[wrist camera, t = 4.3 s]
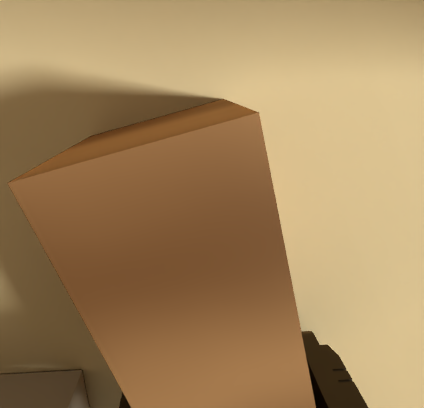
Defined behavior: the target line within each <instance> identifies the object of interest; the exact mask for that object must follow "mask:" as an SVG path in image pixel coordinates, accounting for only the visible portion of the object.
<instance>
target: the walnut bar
mask: <svg viewBox="0 0 424 408" xmlns="http://www.w3.org/2000/svg"><path fill="white" fill-rule="evenodd" d="M8 185H9V187H10V189H11V191H12V192H13V194H14V196H15V198H16V200H17V201H18V203H19V205H20V207H21V209H22V210H23V212H24V214H25V216H26V218H27V220H28V221H29V223H30V225H31V227H32V229H33V230H34V232H35V234H36V236H37V238H38V239H39V241H40V243H41V245H42V247H43V249H44V250H45V252H46V254H47V256H48V258H49V259H50V261H51V263H52V265H53V267H54V268H55V270H56V272H57V274H58V276H59V278H60V279H61V281H62V283H63V285H64V287H65V288H66V290H67V292H68V294H69V296H70V297H71V299H72V301H73V303H74V305H75V307H76V308H77V310H78V312H79V314H80V316H81V317H82V319H83V321H84V323H85V325H86V326H87V328H88V330H89V332H90V334H91V336H92V337H93V339H94V341H95V343H96V345H97V346H98V348H99V350H100V352H101V354H102V355H103V357H104V359H105V361H106V363H107V364H108V366H109V368H110V370H111V372H112V374H113V375H114V377H115V379H116V381H117V383H118V384H119V386H120V388H121V390H122V392H123V393H124V395H125V397H126V399H127V401H128V403H129V404H130V406H131V408H316V405H315V400H314V395H313V390H312V385H311V380H310V374H309V369H308V364H307V359H306V354H305V349H304V343H303V338H302V333H301V328H300V323H299V318H298V312H297V307H296V302H295V297H294V292H293V287H292V281H291V276H290V271H289V266H288V261H287V256H286V250H285V245H284V240H283V235H282V230H281V225H280V220H279V214H278V209H277V204H276V199H275V194H274V189H273V183H272V178H271V173H270V168H269V163H268V158H267V152H266V147H265V142H264V137H263V132H262V127H261V121H260V116H259V112H256V111H253V110H251V109H248V108H246V107H243V106H240V105H238V104H235V103H233V102H230V101H227V100H225V99H221V100H218V101H214V102H211V103H207V104H204V105H200V106H196V107H193V108H189V109H186V110H182V111H179V112H175V113H172V114H168V115H165V116H161V117H157V118H154V119H150V120H147V121H143V122H140V123H136V124H133V125H129V126H125V127H122V128H118V129H115V130H111V131H108V132H104V133H101V134H97V135H93V136H90V137H88V138H87V139H85V140H83V141H81V142H80V143H78V144H76V145H74V146H72V147H71V148H69V149H67V150H65V151H64V152H62V153H60V154H58V155H56V156H55V157H53V158H51V159H49V160H48V161H46V162H44V163H42V164H41V165H39V166H37V167H35V168H33V169H32V170H30V171H28V172H26V173H25V174H23V175H21V176H19V177H17V178H16V179H14V180H12V181H10V182H9V183H8Z"/></svg>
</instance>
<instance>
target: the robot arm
mask: <svg viewBox="0 0 424 408" xmlns="http://www.w3.org/2000/svg"><path fill="white" fill-rule="evenodd" d="M301 333H302V338H303V343H304V349H305V354H306V359H307V364H308V369H309V374H310V380H311V385H312V390H313V395H314V400H315V405H316V408H368V406H367V404H366V403H365V401H364V399H363V397H362V396H361V394H360V392H359V390H358V389H357V387H356V385H355V383H354V382H353V381H352V378H351V376H350V375H349V373H348V371H346V368H345V366H344V364H343V362H342V361H341V359H340V357H339V355H338V354H336V353H335V352H334V351H333V350H332V349H331V348H330V347H329V346H328V345H319V343H318V341H317V339H316V337H315V335H314V333H313V332H312V331H303V332H301ZM119 408H131V406H130V404H129V403H128V401H127V399H126V397H125V395H124V393H123V392H122V398H121V401H120V406H119Z"/></svg>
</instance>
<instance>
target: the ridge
mask: <svg viewBox="0 0 424 408" xmlns="http://www.w3.org/2000/svg"><path fill="white" fill-rule="evenodd" d="M0 408H89V403H88V398H87V393H86V388H85V383H84V378H83V372H82V370H70V371H53V372H36V373H18V374H1V375H0Z"/></svg>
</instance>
